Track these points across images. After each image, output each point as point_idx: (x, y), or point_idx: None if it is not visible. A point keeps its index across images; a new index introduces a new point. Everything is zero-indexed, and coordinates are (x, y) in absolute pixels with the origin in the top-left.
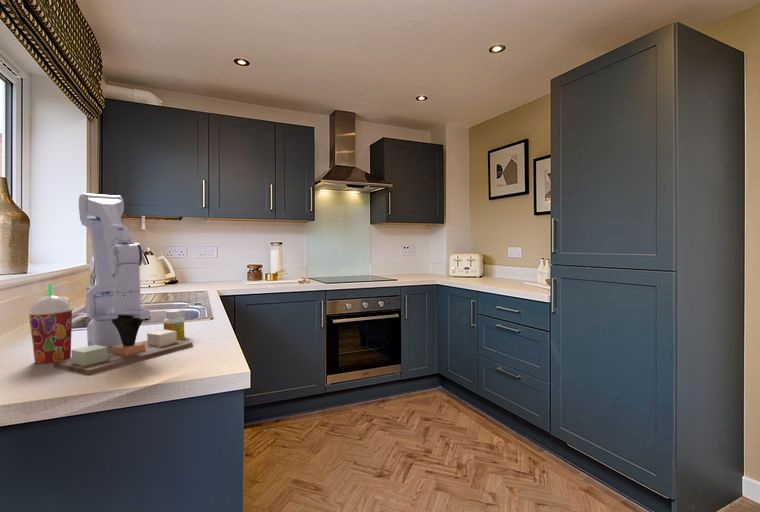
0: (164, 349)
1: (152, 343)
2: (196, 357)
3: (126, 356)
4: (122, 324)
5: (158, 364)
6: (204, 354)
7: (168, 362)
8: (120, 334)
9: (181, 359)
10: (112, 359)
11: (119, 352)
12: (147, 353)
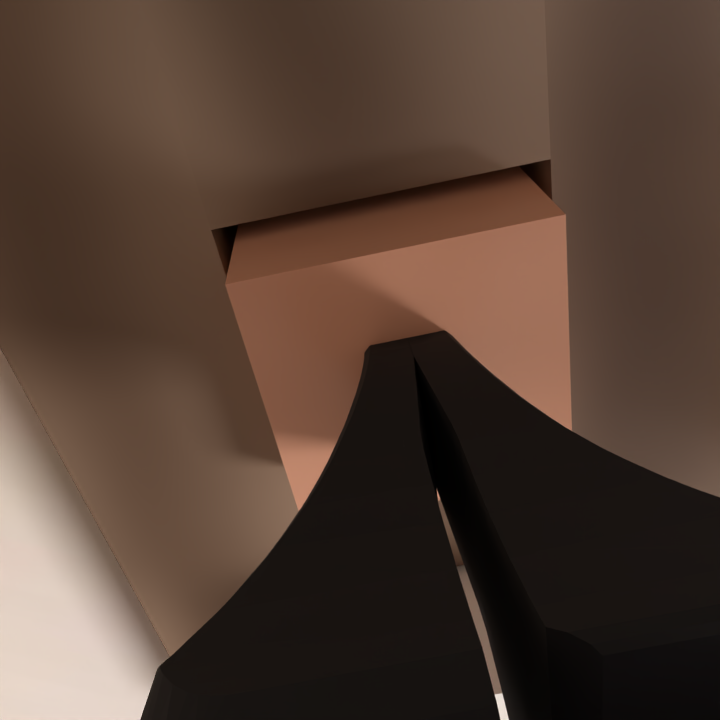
0: (148, 585)
1: (469, 589)
2: (13, 655)
3: (141, 230)
4: (264, 619)
5: (5, 416)
6: (66, 707)
7: (14, 490)
8: (490, 413)
9: (39, 578)
10: (103, 26)
11: (372, 224)
12: (99, 437)
